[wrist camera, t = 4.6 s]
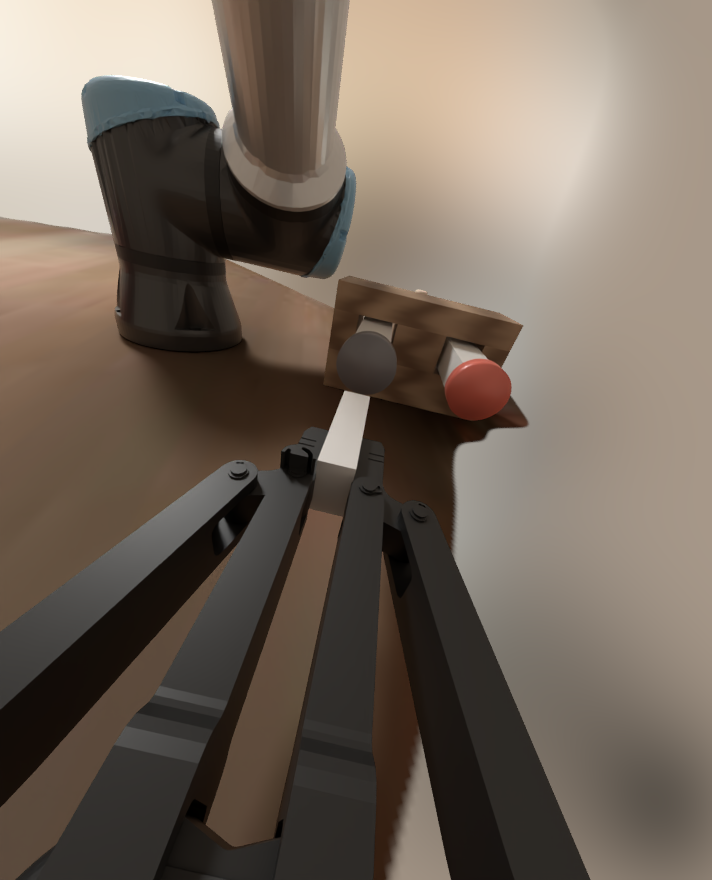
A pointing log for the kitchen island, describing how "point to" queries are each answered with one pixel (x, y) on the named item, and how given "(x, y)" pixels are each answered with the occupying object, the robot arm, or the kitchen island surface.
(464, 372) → the red plug
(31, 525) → the kitchen island surface
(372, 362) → the graphite plug
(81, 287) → the kitchen island surface
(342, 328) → the walnut plug block
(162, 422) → the kitchen island surface
